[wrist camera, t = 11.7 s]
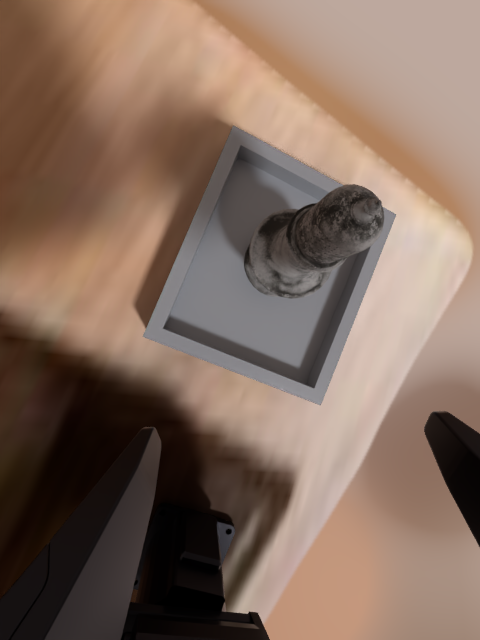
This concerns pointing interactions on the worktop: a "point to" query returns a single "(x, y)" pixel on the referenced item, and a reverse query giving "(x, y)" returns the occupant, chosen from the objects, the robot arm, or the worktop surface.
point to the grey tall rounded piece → (312, 241)
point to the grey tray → (237, 291)
